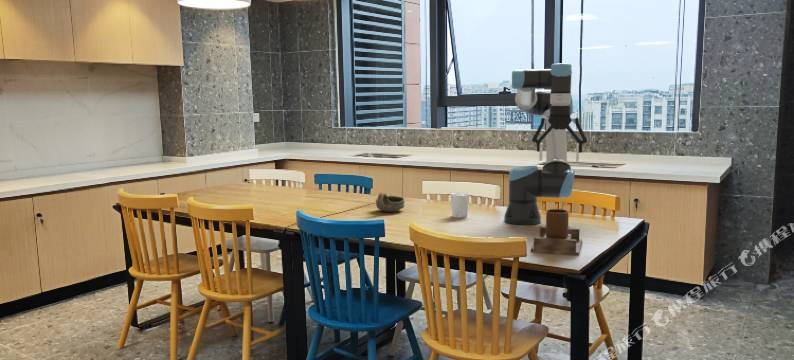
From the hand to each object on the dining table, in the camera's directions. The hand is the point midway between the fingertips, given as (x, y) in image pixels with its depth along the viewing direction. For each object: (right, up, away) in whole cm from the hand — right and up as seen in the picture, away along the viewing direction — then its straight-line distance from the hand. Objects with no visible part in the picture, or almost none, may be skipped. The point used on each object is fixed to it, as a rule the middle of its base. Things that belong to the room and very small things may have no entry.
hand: (558, 160), depth 242 cm
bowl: (-66, -22, +51) cm, 86 cm away
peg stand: (-5, -31, -17) cm, 36 cm away
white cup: (-34, -24, +39) cm, 57 cm away
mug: (-5, -27, -17) cm, 33 cm away
